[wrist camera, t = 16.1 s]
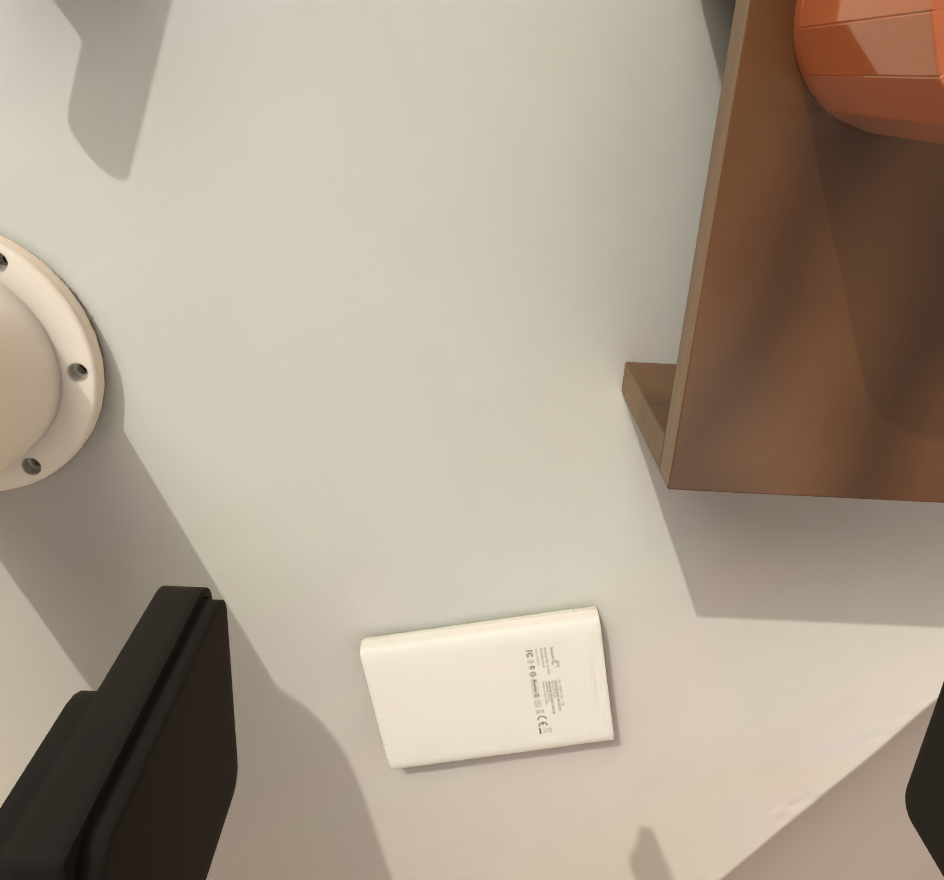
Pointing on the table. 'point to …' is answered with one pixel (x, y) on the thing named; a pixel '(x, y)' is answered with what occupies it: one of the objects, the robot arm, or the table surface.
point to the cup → (875, 63)
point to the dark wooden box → (804, 299)
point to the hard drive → (489, 687)
